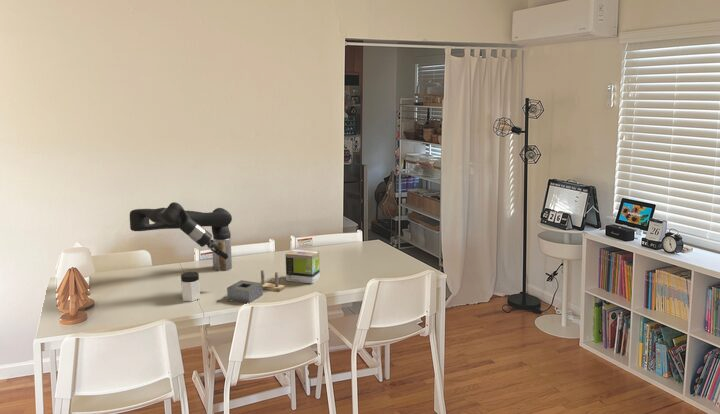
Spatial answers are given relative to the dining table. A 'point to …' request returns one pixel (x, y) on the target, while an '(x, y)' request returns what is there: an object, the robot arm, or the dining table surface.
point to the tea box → (302, 266)
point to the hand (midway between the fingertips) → (226, 256)
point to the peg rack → (271, 286)
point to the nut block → (245, 291)
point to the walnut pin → (221, 260)
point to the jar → (190, 286)
